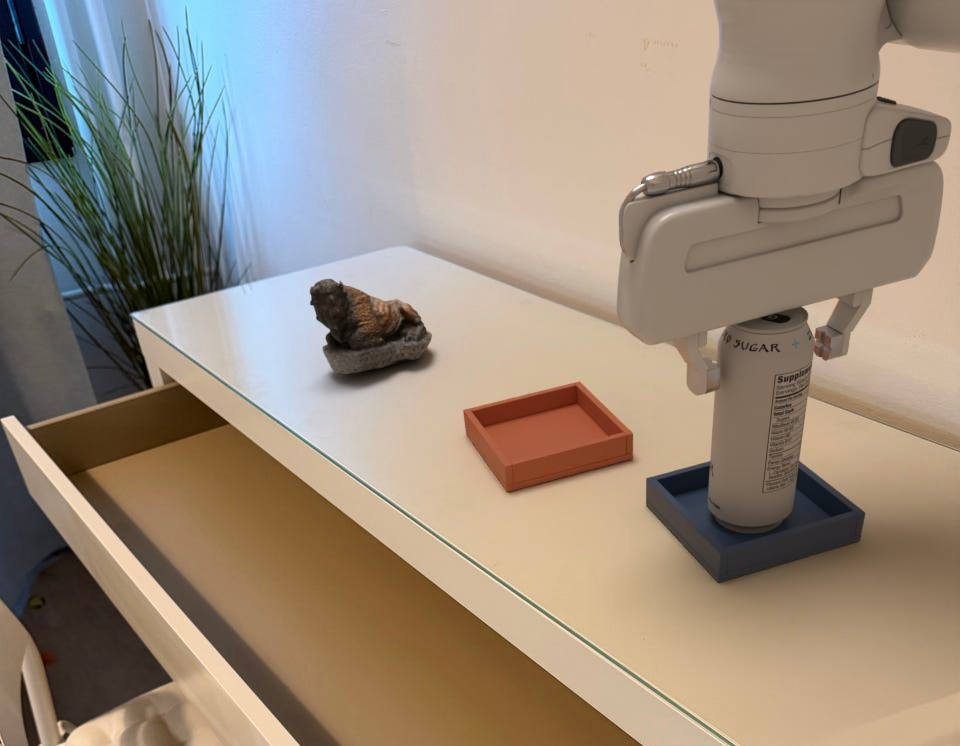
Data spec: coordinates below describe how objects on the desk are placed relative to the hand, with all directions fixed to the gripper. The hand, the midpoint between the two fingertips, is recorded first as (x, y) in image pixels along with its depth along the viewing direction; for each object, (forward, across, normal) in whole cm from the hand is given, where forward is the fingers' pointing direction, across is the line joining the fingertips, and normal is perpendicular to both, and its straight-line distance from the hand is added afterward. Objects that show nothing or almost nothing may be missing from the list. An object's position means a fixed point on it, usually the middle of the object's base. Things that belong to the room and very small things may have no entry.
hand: (767, 372), depth 61 cm
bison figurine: (+12, -18, +42) cm, 47 cm away
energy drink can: (+11, 0, 0) cm, 11 cm away
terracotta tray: (+12, -10, +18) cm, 23 cm away
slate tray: (+12, 0, 0) cm, 12 cm away
